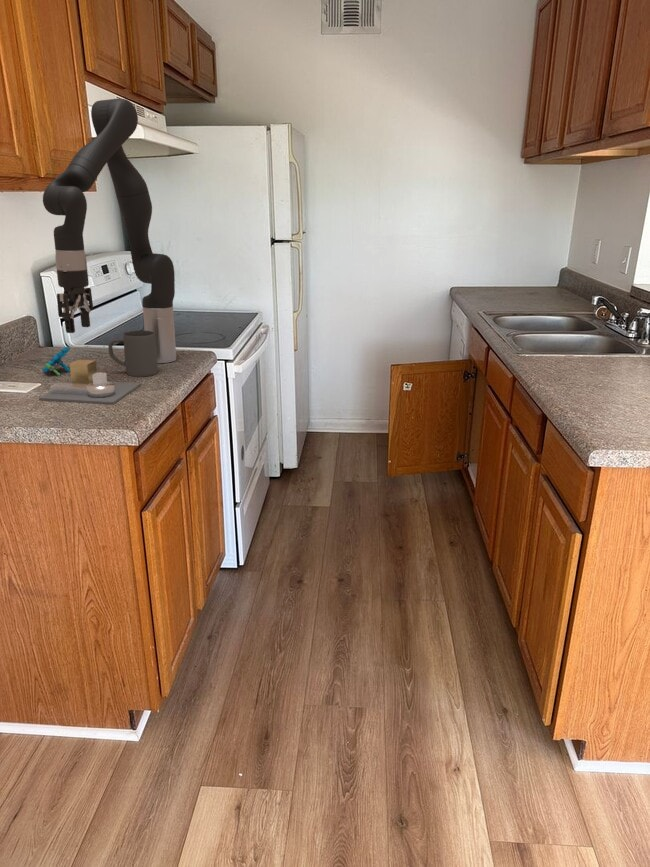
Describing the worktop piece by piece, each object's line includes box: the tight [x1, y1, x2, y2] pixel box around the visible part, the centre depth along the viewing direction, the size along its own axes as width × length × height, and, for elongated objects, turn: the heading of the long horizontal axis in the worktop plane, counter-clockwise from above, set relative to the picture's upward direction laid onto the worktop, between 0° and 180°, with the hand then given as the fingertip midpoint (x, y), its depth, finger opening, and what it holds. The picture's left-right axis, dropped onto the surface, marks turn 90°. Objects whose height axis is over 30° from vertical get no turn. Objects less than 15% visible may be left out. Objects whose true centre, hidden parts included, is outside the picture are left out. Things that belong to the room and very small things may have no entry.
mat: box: [38, 380, 142, 405], centre depth 171 cm, size 18×20×1 cm
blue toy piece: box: [42, 346, 70, 376], centre depth 190 cm, size 11×6×10 cm
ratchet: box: [49, 371, 115, 398], centre depth 168 cm, size 7×16×6 cm, turn 83°
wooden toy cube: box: [69, 359, 98, 384], centre depth 176 cm, size 5×5×6 cm
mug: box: [108, 329, 159, 378], centre depth 189 cm, size 14×9×12 cm
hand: (78, 329), depth 172 cm, fingers open, 8 cm apart
